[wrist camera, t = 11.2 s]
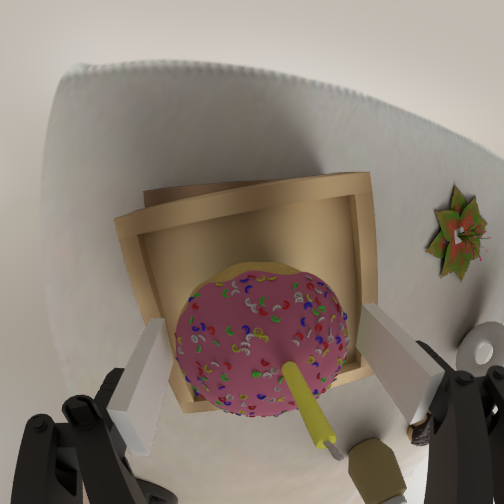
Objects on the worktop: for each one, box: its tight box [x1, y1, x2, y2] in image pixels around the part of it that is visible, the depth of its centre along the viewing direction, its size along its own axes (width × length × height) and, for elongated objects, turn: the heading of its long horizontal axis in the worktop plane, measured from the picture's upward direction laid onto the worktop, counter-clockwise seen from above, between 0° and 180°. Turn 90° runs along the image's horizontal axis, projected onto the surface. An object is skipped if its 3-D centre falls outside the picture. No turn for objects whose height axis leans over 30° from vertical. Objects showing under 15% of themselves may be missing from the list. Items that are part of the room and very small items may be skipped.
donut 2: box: [456, 322, 504, 377], centre depth 26 cm, size 10×4×10 cm, turn 145°
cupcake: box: [174, 262, 350, 461], centre depth 12 cm, size 9×8×12 cm
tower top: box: [114, 172, 378, 413], centre depth 19 cm, size 15×15×5 cm
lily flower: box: [425, 185, 491, 282], centre depth 25 cm, size 12×12×5 cm
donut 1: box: [408, 410, 432, 446], centre depth 34 cm, size 11×12×4 cm
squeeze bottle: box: [348, 439, 407, 504], centre depth 27 cm, size 8×8×18 cm
